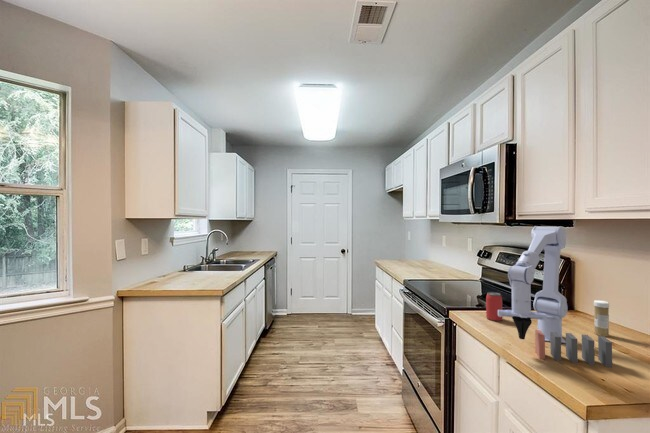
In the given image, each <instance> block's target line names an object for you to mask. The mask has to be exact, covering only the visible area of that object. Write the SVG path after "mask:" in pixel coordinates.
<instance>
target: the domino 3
mask: <svg viewBox="0 0 650 433" xmlns="http://www.w3.org/2000/svg"><path fill="white" fill-rule="evenodd" d="M595 354H596V352H595V340H594V339H593V338H592V337H591V336H589V334H581V358H582V360H584V361H585V363H586V364H588V366H589V365H590V366H595V363H596V361H595V359H596V358H595Z"/></svg>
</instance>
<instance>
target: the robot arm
mask: <svg viewBox="0 0 650 433" xmlns="http://www.w3.org/2000/svg"><path fill="white" fill-rule="evenodd" d="M530 236H531V242H530V244H529V247H528V249H527V250H525V251H523V252H522V253H521V255H520V257H519V258H518V260H517V261H516V263H515V264H514V265H512V266H510V267H509V268H508V271H507V279H508V280H509V286H511V309H502V310H498V316H499V317H502V318H503V317H506V318H507V317H508V318H511V319H512V321H513V322H514V325H515V328H516V329H517V330H516V331H517V334H518V338H519V339H520V340H525V339H526V334H527V332H528V329H529V328H530V327H531V325H532V323H533V322H532V320H537V330H540V331H541V332H542V333H543V334H544V335H545V342H550V331H551V332H556V333H557V334H558V335H559V336H560V337H561V344H566V339H564V338H563V325H562V324H563V323H562V322H563V321H562V320H563V318H565V317H566V316H567V315H568V314H567V313H568V303H567V301H568V300H567V298H566V296H564V295H563V294H562V293H560V291H559V280H560V262H561V260H560V258H561V250H563V249H565V248H566V244H567V243H566V241H567V232H566V230H565V228H564V227H563V226H538V225H534V227H533V228H532V229H531V233H530ZM543 250H544V261H543V262H544V263H543V278H542V281H543V282H542V290H539V291H537V292H536V293H535V295H534V300H533V303H532V301H531V300H532V299H531V298H532V295H531V294H532V293H531V288H532V287H531V286H532V285H531V284H532V283H533V281H534V278H535V273H536V271H535V270H536V268H537V266H538V264H539V262H540V261H541V260H540V259H541V258H540V256H539V255H540V254H541V252H542V251H543ZM532 304H533V305H532ZM532 306H533V307H532ZM532 308H533V310H534V311H532Z"/></svg>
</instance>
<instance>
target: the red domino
mask: <svg viewBox="0 0 650 433" xmlns="http://www.w3.org/2000/svg"><path fill="white" fill-rule="evenodd" d="M534 333H535V334H534V337H535V338H534V340H535V341H534V342H535V346H534V348H535V352H534V353H535V354H536V355H537V357H538V358H539V359H541V360H546V341H545V335H544V334H543V333H542V332H541V331H540V330H538V329H534Z"/></svg>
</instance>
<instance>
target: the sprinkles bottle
mask: <svg viewBox="0 0 650 433" xmlns="http://www.w3.org/2000/svg"><path fill="white" fill-rule="evenodd" d="M593 307H594V314H593V315H594V316H593V317H594V318H593V319H594V322H593V323H594V334H595V335H596V336H603V337H605V338H607V337H610V333H609V332H610V331H609V330H610V314H609V312H610V309H609V308H610V303H609V301H606V300H601V299H600V300H599V299H597V300H593Z"/></svg>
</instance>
